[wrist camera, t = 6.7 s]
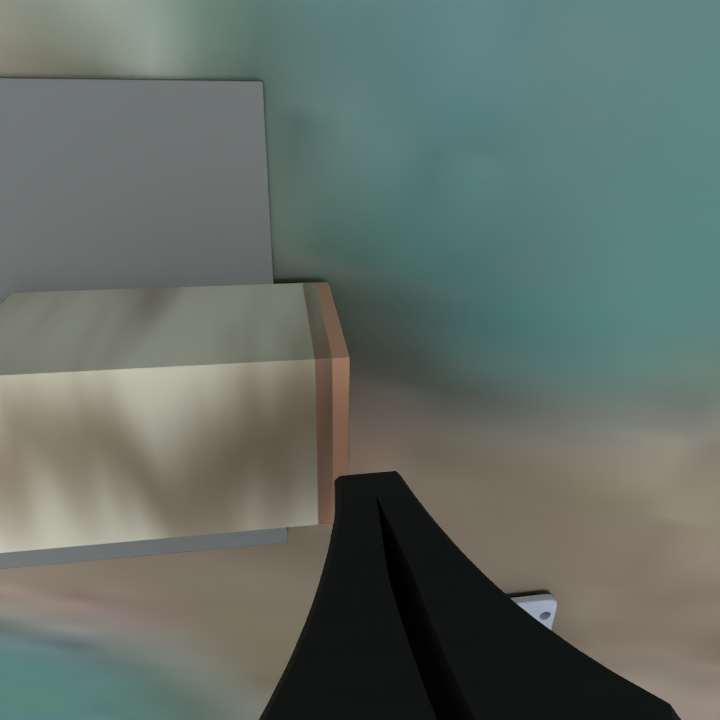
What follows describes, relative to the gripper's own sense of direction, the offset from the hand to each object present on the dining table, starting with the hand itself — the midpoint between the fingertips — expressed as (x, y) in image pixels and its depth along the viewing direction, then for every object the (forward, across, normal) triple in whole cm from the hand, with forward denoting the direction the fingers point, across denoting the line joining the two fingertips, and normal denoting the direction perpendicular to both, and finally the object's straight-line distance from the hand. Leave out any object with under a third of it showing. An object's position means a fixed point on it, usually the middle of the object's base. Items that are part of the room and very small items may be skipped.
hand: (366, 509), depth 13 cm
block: (+5, 0, 0) cm, 5 cm away
